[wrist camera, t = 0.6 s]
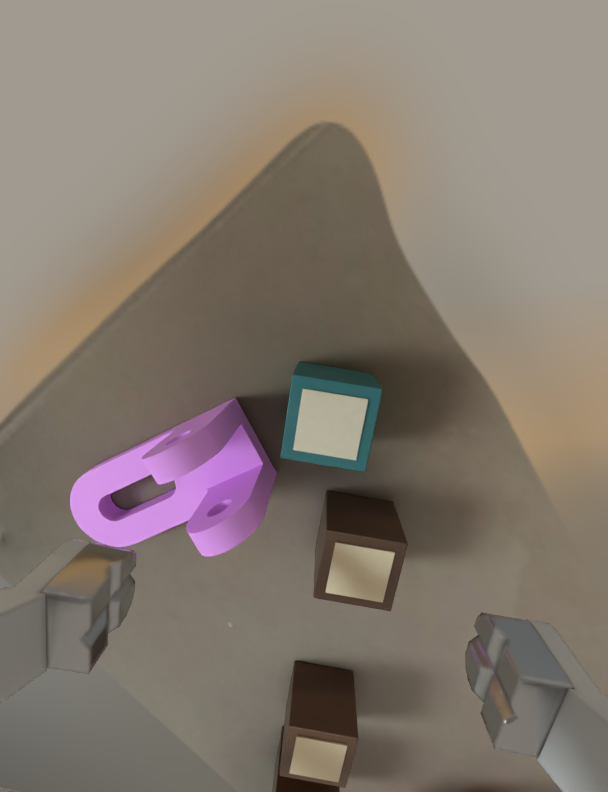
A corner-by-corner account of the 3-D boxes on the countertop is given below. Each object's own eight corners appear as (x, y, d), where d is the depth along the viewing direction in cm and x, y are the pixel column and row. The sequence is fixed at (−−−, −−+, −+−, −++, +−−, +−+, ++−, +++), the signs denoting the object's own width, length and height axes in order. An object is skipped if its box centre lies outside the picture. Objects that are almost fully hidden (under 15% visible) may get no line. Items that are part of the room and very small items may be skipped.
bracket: (235, 397, 23) (197, 435, 16) (276, 473, 24) (257, 538, 17) (68, 478, 25) (-29, 542, 18) (112, 545, 26) (36, 629, 19)
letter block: (298, 361, 22) (292, 374, 18) (371, 373, 22) (383, 389, 18) (288, 430, 23) (279, 459, 19) (358, 442, 23) (365, 473, 19)
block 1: (294, 660, 27) (288, 727, 23) (353, 670, 27) (358, 740, 23) (286, 705, 28) (278, 778, 24) (342, 715, 28) (345, 790, 24)
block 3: (326, 490, 24) (326, 530, 19) (393, 501, 24) (408, 545, 19) (315, 548, 25) (312, 599, 20) (379, 559, 25) (391, 613, 20)
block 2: (282, 725, 29) (274, 801, 24) (338, 736, 29) (340, 813, 24) (274, 766, 30) (266, 845, 25) (328, 776, 30) (329, 857, 25)
